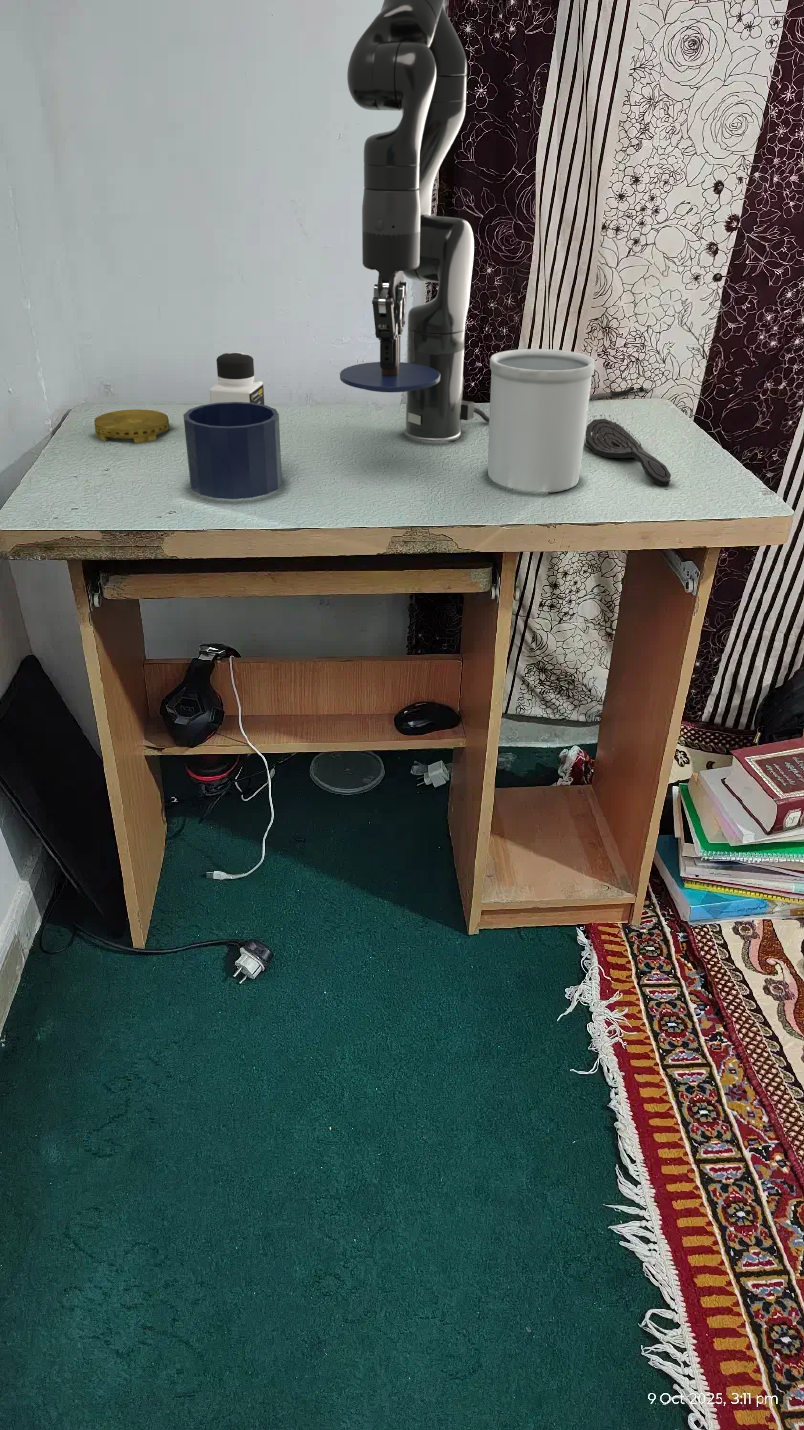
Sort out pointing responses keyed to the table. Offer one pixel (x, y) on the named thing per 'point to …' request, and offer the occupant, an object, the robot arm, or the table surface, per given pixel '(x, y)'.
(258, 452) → the pot
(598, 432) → the hairbrush
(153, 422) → the golden brown disc
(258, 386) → the medicine bottle
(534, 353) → the utensil holder
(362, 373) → the lid
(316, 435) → the table surface
